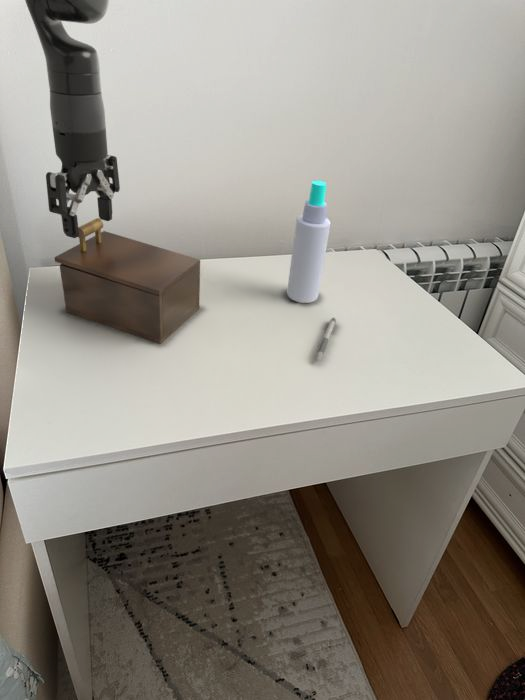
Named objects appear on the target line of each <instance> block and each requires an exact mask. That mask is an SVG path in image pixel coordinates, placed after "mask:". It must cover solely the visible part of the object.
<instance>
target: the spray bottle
mask: <svg viewBox="0 0 525 700" xmlns="http://www.w3.org/2000/svg"><path fill="white" fill-rule="evenodd" d="M326 190H327V182H325V181H323V180H313V181H311V187H310V193H309V199H307V200H305V202H304V207H303V212H302V214H300V215H298V216H297V217H296V221H295V229H294V236H293V242H292V249H291V250H292V252H291V258H290V266H289V274H288V281H287V282H288V283H287V289H286V294H287V297H288V298H289V299H290V300H292V301H294V302H296V303H301V304H308V303H310V304H311V303H314V302H315V301H316V300H318V298H319V293H320V289H321V281H322V277H323V271H324V264H325V258H326V253H327V248H328V247H327V246H328V241H329V235H330V229H331V220H330V219H329V218H328V217H327V209H328V204H327V202H326V201H325V198H326V197H325V196H326Z"/></svg>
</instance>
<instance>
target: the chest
mask: <svg viewBox="0 0 525 700" xmlns="http://www.w3.org/2000/svg"><path fill="white" fill-rule="evenodd" d="M59 272H60V278H61V279H60V280H61V284H62V285H61V286H62V291H63V298H64V305H65V306H64V307H65V312H66V313H69V314H71V315H74V316H77V317H80V318H83V319H85V320H89V321H92V322H94V323H98V324H101V325H104V326H107V327H109V328H112V329H116V330H118V331H122V332H124V333H126V334H130V335H133V336H136V337H139V338H142V339H145V340H147V341H150V342H153V343H157V344H160V345H161V344H162V343H164V341H166V340H167V339H169V337H170V336H171V335H172V334H173V333H175V331H176V330H178V329H179V328H180V327H181V326H182V325H184V323H186V322H187V321H188V320H189V319H190V318H191V317H192V316H193V315H194V314H195V313H197V312H198V311H199V310H200V295H201V294H200V292H201V291H200V289H201V263H200V264H199V265H198V266H197V267H195V268H194V269H193V270H192V271H190V272H189V273H188V274H186V275H185V276H184V277H183V278H181V279H180V280H179V281H177V282H176V283H175V284H174V285H172V286H171V287H170V288H168V289H167V290H166V291H165V292H163V293H162V294H161V295H156V294H153V293H150V292H146V291H143V290H140V289H137V288H134V287H131V286H128V285H125V284H122V283H119V282H116V281H113V280H110V279H107V278H104V277H101V276H98V275H95V274H92V273H88V272H85V271H82V270H79V269H76V268H73V267H70V266H67V265H64V264H61V263H59Z"/></svg>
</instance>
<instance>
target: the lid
mask: <svg viewBox="0 0 525 700" xmlns="http://www.w3.org/2000/svg"><path fill="white" fill-rule="evenodd" d="M103 228H104V222H103V220H102V219H100V218H99V217H96V218H94V219H92V220H90V221H88V222H86V223H84V224H82V225H80V226H78V230H79V236H78V237H77V238H78V239H79V243H78V244H77V245H75V246H73V247H71V248H69V249H67V250H65V251H63V252H62V253H60V254H58V255H55V256H54V262H55V263H58V264H64V265H67V266H70V267H73V268H76V269H79V270H82V271H85V272H88V273H92V274H95V275H98V276H101V277H104V278H107V279H110V280H113V281H116V282H119V283H122V284H125V285H128V286H131V287H134V288H137V289H140V290H143V291H146V292H150V293H153V294H156V295H161V294H162V293H163V292H165V291H166V290H167V289H168V288H170V287H171V286H172V285H174V284H175V283H176V282H177V281H179V280H180V279H181V278H183V277H184V276H185V275H186V274H188V273H189V272H190V271H192V270H193V269H194V268H195V267H197V266H198V265H199V264H200V265H201V259H199V258H196V257H194V256H193V257H192V256H189V255H186V254H182V253H180V252H175V251H172V250H169V249H166V248H163V247H159V246H156V245H153V244H150V243H146V242H142V241H139V240H136V239H132V238H130V237H126V236H122V235H119V234H116V233H113V232H109V231H105V230H102V229H103ZM91 234H94V235H93V236H92V237H90V238H87V237H88V236H89V235H91ZM86 238H87V239H86Z"/></svg>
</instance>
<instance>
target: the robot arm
mask: <svg viewBox="0 0 525 700" xmlns="http://www.w3.org/2000/svg"><path fill="white" fill-rule="evenodd" d="M24 1H25V4H26V7H27V10H28V13H29V15H30V17H31V19H32V22H33V25H34V28H35V30H36V34H37V36H38V39H39V42H40V45H41V48H42V51H43V54H44V58H45V63H46V64H45V65H46V72H47V80H48V88H49V108H50V109H49V110H50V119H51V127H52V134H53V141H54V149H55V151H54V152H55V155H56V157H57V158H58V159H59V161H60V162H61V169H60V171H59V172H51V171H48V172H46V173H45V182H46V193H47V203H48V211H49V212H50V213H52V214H57V215H60V216H61V223H62V231H63V233H64V234H65V236H66V237H69V238H72V239H77V238H79V237H78V236H79V230H78V227H79V222H78V215H77V212H78V211H77V210H78V207H79V205H80V204H81V203H83V201H84V199H85V196H87V195H89V194H90V193H91V192H95V193H96V195H97V197H96V198H97V211H98V218H99V219H101V220H102V221H106V222H109V221H112V220H113V201H112V199H114V195H115V193H119V192H120V188H121V185H120V178H119V177H120V175H119V168H118V166H119V165H118V159H117V156H115V155H112V154H111V155H110V154H108V142H107V141H108V140H107V127H106V126H107V125H106V114H105V112H106V111H105V105H104V100H103V95H102V85H101V84H102V83H101V67H100V59H99V54H98V51H97V50H96V48H95V47H93V46H92V45H90V44H88V43H85V42H82V41H79V40H77V39H75V38H73V37H71V36H70V35H69V34H68V32H67V30H66V29H65V26H64V25H63V22H68V23H77V24H86V25H89V24H90V25H91V24H95V23H98V22H99V21H101V20H102V19H103V18H104V17H105V16H106V14H107V11H108V9H109V6H110V0H24ZM110 179H111V180H110ZM111 181H112V182H111ZM70 191H71V192H72V193H70ZM73 193H74V194H73ZM57 201H58V202H57ZM70 201H71V202H70ZM69 202H70V204H69ZM57 203H58V204H57ZM68 204H69V206H68Z"/></svg>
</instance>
